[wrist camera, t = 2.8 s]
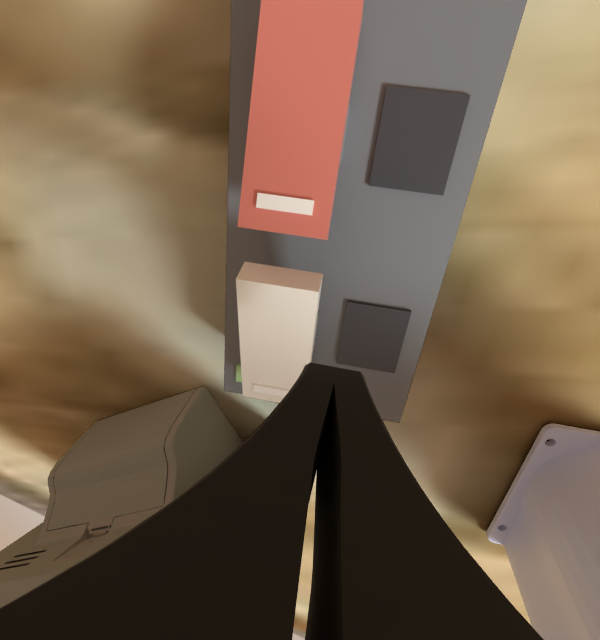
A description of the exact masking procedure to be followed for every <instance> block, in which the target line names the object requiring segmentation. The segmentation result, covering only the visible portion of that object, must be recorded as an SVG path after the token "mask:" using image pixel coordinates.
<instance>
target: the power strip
mask: <svg viewBox="0 0 600 640" xmlns="http://www.w3.org/2000/svg"><path fill="white" fill-rule="evenodd" d="M526 2H527V0H364V3H363V15H362V24H361V30H360V37H359V43H358V49H357V56H356V62H355V69H354V75H353V82H352V88H351V94H350V101H349V107H348V114H347V120H346V126H345V133H344V139H343V146H342V152H341V159H340V165H339V171H338V178H337V184H336V191H335V197H334V203H333V210H332V216H331V223H330V229H329V236H328V240H323V239H316V238H309V237H303V236H296V235H289V234H282V233H275V232H268V231H262V230H255V229H248V228H242V227H237V226H238V217H239V207H240V198H241V188H242V179H243V169H244V159H245V150H246V140H247V131H248V121H249V112H250V102H251V93H252V83H253V73H254V64H255V54H256V45H257V35H258V26H259V16H260V7H261V0H231V50H230V102H229V155H228V208H227V260H226V313H225V366H224V391H229V392H234V393H240V394H243V391H242V374H241V357H240V340H239V324H238V307H237V290H236V278H237V276H238V274H239V272H240V270H241V268H242V266H243V264H244V262H251V263H257V264H264V265H270V266H277V267H283V268H290V269H296V270H303V271H309V272H316V273H322V274H323V277H322V285H321V292H320V300H319V308H318V315H317V323H316V331H315V338H314V346H313V354H312V361H311V363H316V364H321V365H327V366H332V367H338V368H343V369H349V370H354V371H360V372H361V373H362V375H363V376H364V379H365V382H366V384H367V387H368V390H369V392H370V394H371V397H372V399H373V401H374V404H375V406H376V408H377V410H378V412H379V414H380V417H381V419H382V420H387V421H392V422H397V423H400V419H401V416H402V413H403V409H404V406H405V403H406V399H407V396H408V393H409V390H410V386H411V383H412V380H413V376H414V373H415V370H416V366H417V363H418V360H419V356H420V353H421V350H422V347H423V343H424V340H425V337H426V333H427V330H428V327H429V323H430V320H431V317H432V313H433V310H434V307H435V304H436V300H437V297H438V294H439V290H440V287H441V284H442V280H443V277H444V274H445V270H446V267H447V264H448V260H449V257H450V254H451V251H452V247H453V244H454V241H455V237H456V234H457V231H458V227H459V224H460V221H461V217H462V214H463V211H464V208H465V204H466V201H467V198H468V194H469V191H470V188H471V184H472V181H473V178H474V174H475V171H476V168H477V165H478V161H479V158H480V155H481V151H482V148H483V145H484V141H485V138H486V135H487V131H488V128H489V125H490V122H491V118H492V115H493V112H494V108H495V105H496V102H497V98H498V95H499V92H500V88H501V85H502V82H503V78H504V75H505V72H506V69H507V65H508V62H509V59H510V55H511V52H512V49H513V45H514V42H515V39H516V35H517V32H518V29H519V26H520V22H521V19H522V16H523V12H524V9H525V6H526Z"/></svg>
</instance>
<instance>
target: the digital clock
mask: <svg viewBox="0 0 600 640" xmlns="http://www.w3.org/2000/svg"><path fill="white" fill-rule="evenodd" d="M242 443H243V442H242V440H241V439H240V437H239V436H238V434H237V433H236V431H235V430H234V428H233V427H232V425H231V424H230V422H229V420H228V419H227V417H226V416H225V414H224V413H223V411H222V410H221V408H220V407H219V405H218V404H217V402H216V401H215V399H214V398H213V396H212V395H211V393H210V392H209V390H208V389H207V388H206V387H204V386H202V387H199V388H196V389H193V390H190V391H187V392H184V393H181V394H178V395H175V396H172V397H169V398H166V399H163V400H159V401H156V402H153V403H150V404H147V405H144V406H141V407H138V408H135V409H132V410H129V411H126V412H123V413H120V414H117V415H114V416H111V417H108V418H105V419H102V420H99V421H96V422H94V423H93V424H92V425H91V426H90V428H89V429H88V430H87V431H86V432H85V433H84V434H83V435H82V436H81V437H80V438H79V439H78V440H77V442H76V443H75V444H74V445H73V446H72V447H71V448H70V449H69V450H68V451H67V452H66V453H65V454H64V455H63V457H62V458H61V459H60V460H59V461H58V462H57V463H56V465H55V466H54V467H53V469H52V470H51V472H50V474H49V477H48V486H49V491H50V498H49V504H48V508H47V512H46V516H45V519H44V522H43V523H41V524H40V525H39V526H37V527H36V528H34V529H32V530H31V531H30V532H28V533H27V534H25V535H24V536H22V537H21V538H19V539H18V540H16V541H15V542H13V543H12V544H10V545H9V546H7V547H6V548H5V549H3V550H2V551H0V608H1V607H3V606H5V605H6V604H8V603H10V602H12V601H13V600H15V599H17V598H19V597H21V596H22V595H24V594H26V593H27V592H29V591H31V590H33V589H34V588H36V587H38V586H39V585H41V584H43V583H45V582H46V581H48V580H50V579H51V578H53V577H55V576H57V575H58V574H60V573H62V572H63V571H65V570H67V569H68V568H70V567H72V566H74V565H75V564H77V563H79V562H80V561H82V560H84V559H86V558H87V557H89V556H91V555H92V554H94V553H96V552H97V551H99V550H100V549H102V548H104V547H105V546H107V545H108V544H110V543H112V542H113V541H115V540H116V539H118V538H119V537H121V536H122V535H124V534H125V533H127V532H128V531H129V530H131V529H132V528H134V527H135V526H137V525H138V524H140V523H141V522H143V521H144V520H146V519H147V518H149V517H150V516H152V515H153V514H155V513H156V512H158V511H159V510H161V509H162V508H164V507H165V506H166V505H168V504H169V503H171V502H172V501H173V500H175V499H176V498H177V497H179V496H180V495H181V494H183V493H184V492H185V491H187V490H188V489H189V488H190V487H192V486H193V485H194V484H195V483H197V482H198V481H199V480H200V479H202V478H203V477H204V476H206V475H207V474H208V473H209V472H211V471H212V470H213V469H214V468H215V467H217V466H218V465H219V464H220V463H221V462H222V461H223V460H225V459H226V458H227V457H228V456H229V455H230V454H231V453H232V452H233V451H235V450H236V449H237V448H238V447H239V446H240V445H241V444H242Z"/></svg>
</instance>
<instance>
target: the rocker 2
mask: <svg viewBox="0 0 600 640" xmlns="http://www.w3.org/2000/svg"><path fill="white" fill-rule="evenodd" d="M322 277H323V274H322V273H316V272H309V271H303V270H296V269H290V268H283V267H277V266H270V265H264V264H257V263H251V262H244V264H243V266H242V268H241V270H240V272H239V274H238V276H237V278H236V290H237V307H238V324H239V340H240V357H241V374H242V391H243V396H245V397H251V398H256V399H262V400H267V401H272V402H278V403H280V402H281V401H282V399H283V398H284V397H285V396H286V394H287V393H288V392H289V390H290V389H291V388H292V386H293V385H294V384H295V382H296V381H297V379H298V378H299V376H300V374H301V372H302V371H303V369H304V366H305V365H307V364H308V363H310V362H311V361H312V354H313V346H314V338H315V331H316V323H317V315H318V308H319V300H320V292H321V285H322Z"/></svg>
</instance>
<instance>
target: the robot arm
mask: <svg viewBox="0 0 600 640" xmlns="http://www.w3.org/2000/svg"><path fill="white" fill-rule="evenodd" d="M548 439H551V440H549V441H546V440H548ZM316 470H317V478H316V502H315V527H314V552H313V572H312V585H311V595H310V603H309V611H308V620H307V628H306V636H305V640H600V431H594V430H588V429H583V428H577V427H572V426H566V425H560V424H547V425H545V426H544V427H543V428H542V429H541V431H540V433H539V435H538V437H537V438H536V440H535V442H534V444H533V446H532V448H531V450H530V451H529V453H528V455H527V457H526V459H525V461H524V463H523V464H522V466H521V468H520V470H519V472H518V474H517V476H516V478H515V479H514V481H513V483H512V485H511V487H510V489H509V491H508V492H507V494H506V496H505V498H504V500H503V502H502V504H501V506H500V507H499V509H498V511H497V513H496V515H495V517H494V519H493V520H492V522H491V524H490V526H489V528H488V530H487V532H486V534H487V537H488V539H489V540H490V541H491V542H494V543H498V544H503V545H504V547H505V549H506V552H507V555H508V558H509V561H510V564H511V567H512V570H513V573H514V576H515V578H516V581H517V584H518V587H519V590H520V593H521V596H522V599H523V602H524V604H525V607H526V610H527V613H528V616H529V619H530V622H531V625H532V626H531V625H530V624H529V623H528V622H527V621H526V620H525V618H524V617H523V616H522V615H521V614H520V613H519V612H518V611H517V610H516V609H515V607H514V606H513V605H512V604H511V603H510V602H509V601H508V599H507V598H506V597H505V596H504V595H503V593H502V592H501V591H500V590H499V589H498V587H497V586H496V585H495V584H494V583H493V581H492V580H491V579H490V578H489V577H488V575H487V574H486V573H485V572H484V571H483V569H482V568H481V567H480V566H479V565H478V563H477V562H476V561H475V560H474V559H473V557H472V556H471V555H470V554H469V553H468V551H467V550H466V549H465V548H464V547H463V545H462V544H461V543H460V541H459V540H458V539H457V537H456V536H455V535H454V533H453V532H452V531H451V529H450V528H449V527H448V525H447V524H446V523H445V521H444V520H443V519H442V517H441V516H440V514H439V513H438V512H437V510H436V509H435V507H434V506H433V505H432V503H431V502H430V500H429V499H428V497H427V496H426V494H425V493H424V491H423V490H422V488H421V487H420V485H419V484H418V482H417V481H416V479H415V477H414V476H413V474H412V473H411V471H410V469H409V468H408V466H407V464H406V463H405V461H404V459H403V458H402V456H401V454H400V453H399V451H398V449H397V447H396V445H395V444H394V442H393V440H392V438H391V436H390V434H389V432H388V430H387V428H386V426H385V424H384V423H383V421H382V419H381V417H380V414H379V412H378V410H377V408H376V406H375V404H374V401H373V399H372V397H371V394H370V392H369V390H368V387H367V384H366V382H365V379H364V376H363V375H362V373H361V372H360V371H354V370H349V369H343V368H338V367H332V366H327V365H321V364H316V363H311V362H310V363H308V364H307V365H305V366H304V369H303V371H302V372H301V374H300V376H299V378H298V379H297V381H296V382H295V384H294V385H293V386H292V388H291V389H290V390H289V392H288V393H287V394H286V396H285V397H284V398H283V399H282V401H281V402H280V403H279V404H278V405H277V407H276V408H275V409H274V410H273V412H272V413H271V414H270V415H269V416H268V417H267V418H266V419H265V420H264V421H263V422H262V423H261V425H260V426H259V427H258V428H257V429H256V430H255V431H254V432H253V433H252V434H251V435H250V436H249V437H248V438H247V439H246V440H245V441H244V442H243V443H242V444H241V445H240V446H239V447H238V448H237V449H236V450H235V451H233V452H232V453H231V454H230V455H229V456H228V457H227V458H226V459H225V460H223V461H222V462H221V463H220V464H219V465H218V466H217V467H215V468H214V469H213V470H212V471H211V472H209V473H208V474H207V475H206V476H204V477H203V478H202V479H200V480H199V481H198V482H197V483H195V484H194V485H193V486H192V487H190V488H189V489H188V490H187V491H185V492H184V493H183V494H181V495H180V496H179V497H177V498H176V499H175V500H173V501H172V502H171V503H169V504H168V505H166V506H165V507H164V508H162V509H161V510H159V511H158V512H156V513H155V514H153V515H152V516H150V517H149V518H147V519H146V520H144V521H143V522H141V523H140V524H138V525H137V526H135V527H134V528H132V529H131V530H129V531H128V532H127V533H125V534H124V535H122V536H121V537H119V538H118V539H116V540H115V541H113V542H112V543H110V544H108V545H107V546H105V547H104V548H102V549H100V550H99V551H97V552H96V553H94V554H92V555H91V556H89V557H87V558H86V559H84V560H82V561H80V562H79V563H77V564H75V565H74V566H72V567H70V568H68V569H67V570H65V571H63V572H62V573H60V574H58V575H57V576H55V577H53V578H51V579H50V580H48V581H46V582H45V583H43V584H41V585H39V586H38V587H36V588H34V589H33V590H31V591H29V592H27V593H26V594H24V595H22V596H21V597H19V598H17V599H15V600H13V601H12V602H10V603H8V604H6V605H5V606H3V607H1V608H0V640H292V634H293V626H294V617H295V608H296V600H297V592H298V583H299V575H300V567H301V558H302V550H303V542H304V534H305V526H306V518H307V510H308V504H309V500H310V495H311V491H312V487H313V483H314V479H315V475H316Z"/></svg>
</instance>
